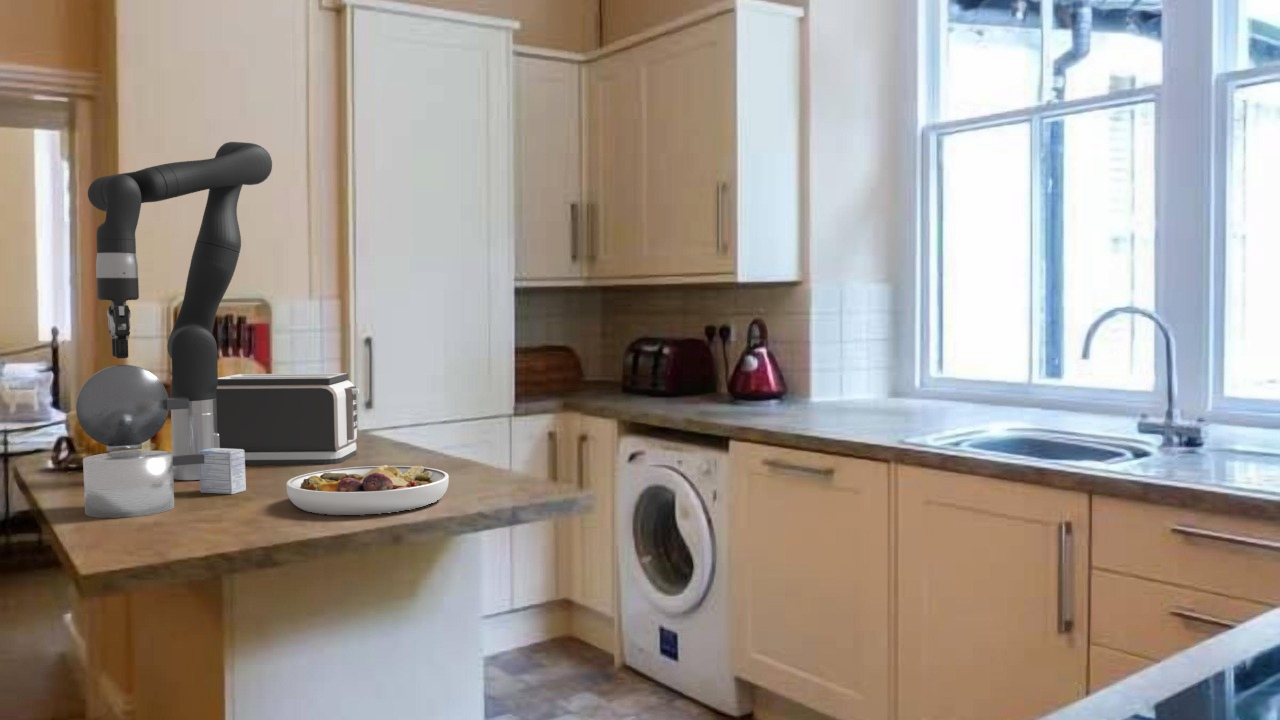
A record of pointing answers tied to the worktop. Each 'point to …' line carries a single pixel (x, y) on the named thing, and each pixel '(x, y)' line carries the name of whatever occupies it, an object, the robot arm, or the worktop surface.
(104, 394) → the lid
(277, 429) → the toaster
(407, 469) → the bowl
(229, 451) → the medicine box
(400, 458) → the worktop surface
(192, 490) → the worktop surface
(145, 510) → the cooker pot
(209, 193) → the robot arm
